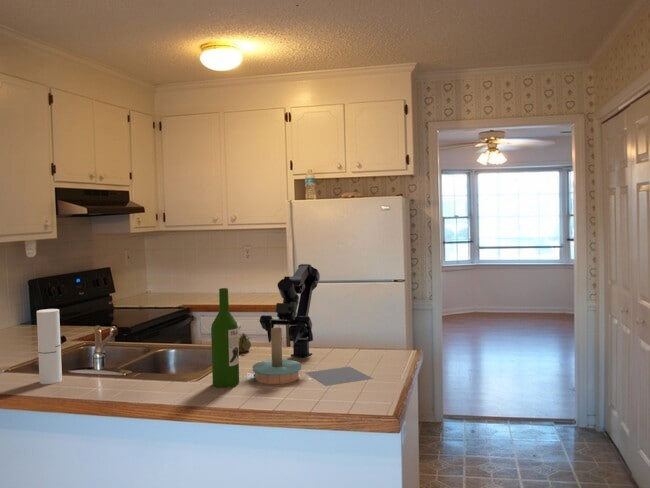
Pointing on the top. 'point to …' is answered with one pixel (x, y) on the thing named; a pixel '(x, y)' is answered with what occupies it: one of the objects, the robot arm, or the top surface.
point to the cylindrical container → (49, 346)
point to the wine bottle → (225, 345)
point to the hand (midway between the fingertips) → (281, 342)
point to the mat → (338, 376)
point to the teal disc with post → (276, 359)
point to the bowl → (277, 378)
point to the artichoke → (244, 343)
